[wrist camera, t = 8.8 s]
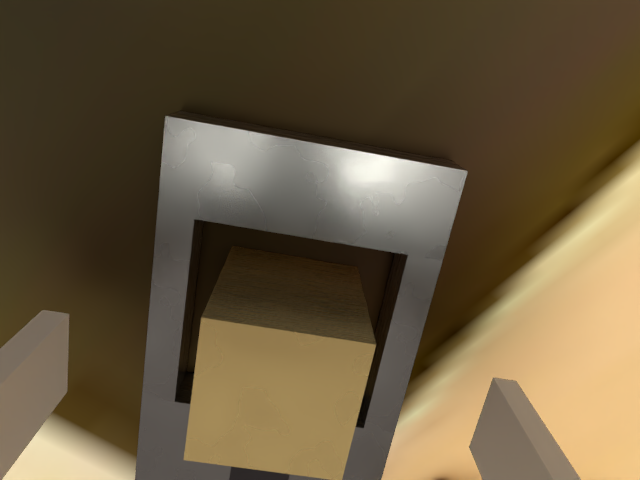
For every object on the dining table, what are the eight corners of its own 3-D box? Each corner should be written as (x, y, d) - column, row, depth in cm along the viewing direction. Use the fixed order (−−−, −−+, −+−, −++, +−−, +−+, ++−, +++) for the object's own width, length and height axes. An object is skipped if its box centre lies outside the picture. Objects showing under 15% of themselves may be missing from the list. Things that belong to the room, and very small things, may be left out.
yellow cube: (232, 245, 20) (201, 317, 14) (357, 266, 20) (376, 344, 14) (217, 355, 21) (183, 459, 16) (333, 372, 22) (341, 481, 16)
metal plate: (180, 110, 18) (164, 116, 16) (451, 160, 19) (468, 171, 17) (144, 499, 24) (129, 539, 22) (353, 525, 24) (357, 566, 22)
